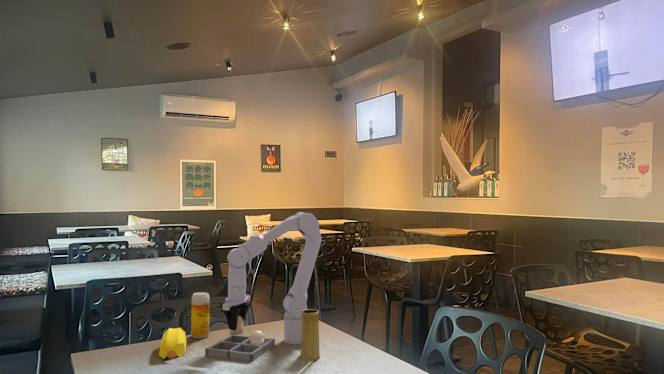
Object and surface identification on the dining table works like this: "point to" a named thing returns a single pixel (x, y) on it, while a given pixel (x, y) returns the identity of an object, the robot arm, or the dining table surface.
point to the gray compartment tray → (238, 348)
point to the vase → (310, 334)
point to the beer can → (200, 315)
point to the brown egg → (238, 327)
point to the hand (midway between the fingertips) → (236, 327)
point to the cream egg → (257, 338)
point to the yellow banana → (173, 343)
